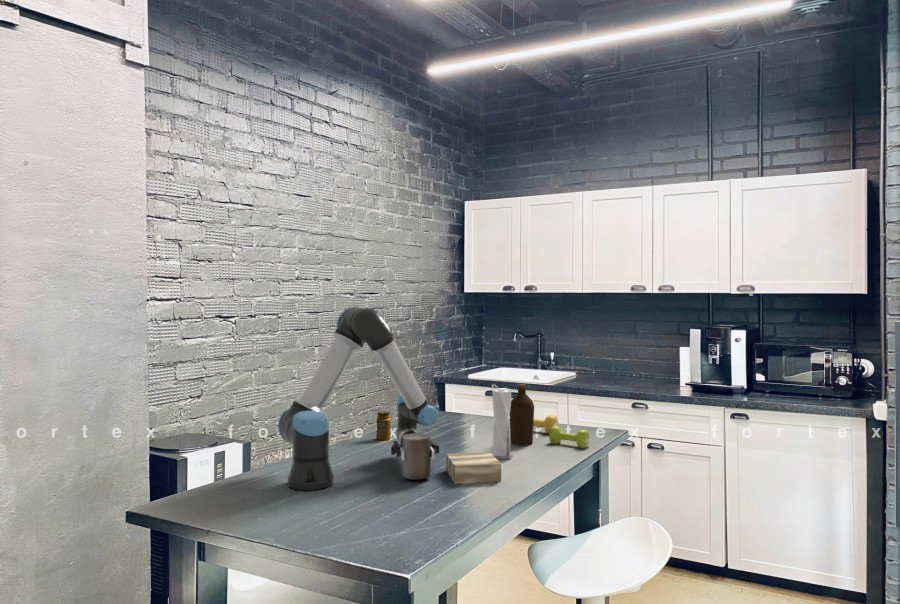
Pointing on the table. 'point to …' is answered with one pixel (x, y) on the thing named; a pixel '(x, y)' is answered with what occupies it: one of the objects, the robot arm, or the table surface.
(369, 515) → the table surface
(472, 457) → the oak block
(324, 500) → the table surface
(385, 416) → the condiment
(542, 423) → the dumbbell
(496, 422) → the skyscraper
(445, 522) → the table surface
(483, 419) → the table surface
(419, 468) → the pillar candle
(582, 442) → the dumbbell
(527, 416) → the olive oil
